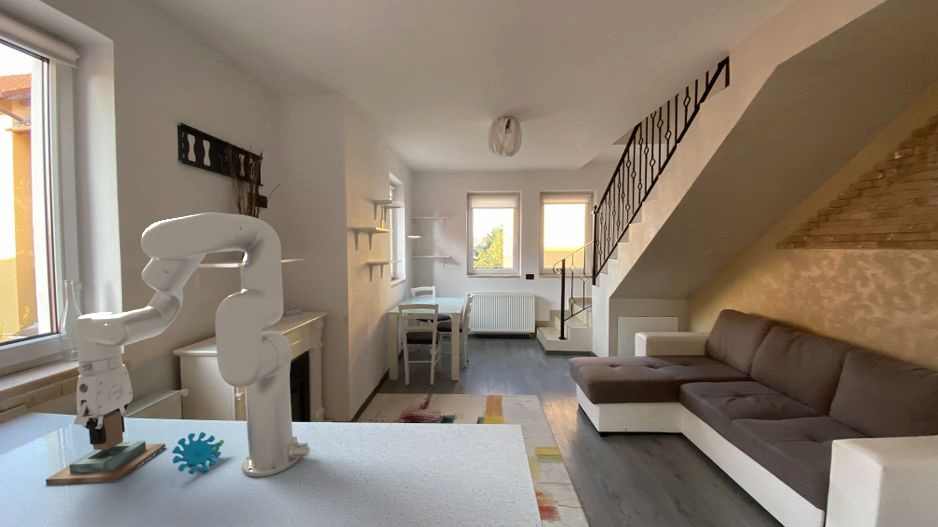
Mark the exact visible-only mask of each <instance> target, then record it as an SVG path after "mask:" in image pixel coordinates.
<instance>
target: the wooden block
mask: <svg viewBox="0 0 938 527" xmlns="http://www.w3.org/2000/svg"><path fill="white" fill-rule="evenodd" d="M93 421H95V422H96V418H93ZM102 427H105V433H106V443H104V444H97V445H92V446H93V448H92V449H93V451H94V450H108V449H110V448H112V447H114V446H116V445H118V444H120V443H122V442H124V435H123V433H124V432H123V433H122V422H121V412H120V411H112V412H110V413H108V414H106V415H104V416H103V423H102Z"/></svg>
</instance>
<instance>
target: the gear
mask: <svg viewBox="0 0 938 527" xmlns="http://www.w3.org/2000/svg"><path fill="white" fill-rule="evenodd" d="M206 436H207V434H206V433H205V432H203V431H200V433H199V434H198V438H197V439H196V440H193V439H194V438H195V437H196V433H193V432H191V433H188V435H187V439H188V444H187V443H186V441H187V440H186V438H185V437H183V438H180V439H179V440H178V441H177V444H178V445H180V446H181V447H182V450H181V448H180V446H178V445H176V446H175V447H174V448H173V450H172V451H171V453H172V454H175V456H174V457H173V459H172V463H173V464H177V463H180V462H186V463H181V464H179V466H178V468H177V470H179V471H180V472H183V471H184V470H185V469H186V468H187V467H189V465H190V466H191V465H192V466H193V467H191V468H190V469H188V471H187V473H188V474H190V475H195V473H196V472H197V467H198V466H199V465H201V466H202V467H200V469H199V472H200V473H201V474H202V473H206V472H207V471H208V466H207V461H208V462H209V464H208V465H209V467H210V468H211V467H214V466H215V465H216V464H217V463H218V462H217V460H216V459H219V458H220V456H221V454H222V451H219V450H220V447H222V446H223V444H224V443H225V440H223V439H220V440H219V441H218V442H215V443H213V442H214V441H215V440H216V438H215V436H214V435H209V437H208V438H207V439H205V440H203V439H204V438H205V437H206ZM176 454H178V455H176ZM179 455H180V456H179ZM181 456H182V457H181ZM212 456H213V457H214V458H215V459H214V458H213V457H212Z"/></svg>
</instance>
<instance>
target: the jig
mask: <svg viewBox="0 0 938 527" xmlns="http://www.w3.org/2000/svg"><path fill="white" fill-rule="evenodd" d="M164 447H165V448H166V443H148V444H147V443H146V440H141V441H140V440H139V441H123V442H122V443H120V444H118V445H116V446H114V447H112V448H110V449H108V450H94V449H93V450H92V451H90V452H87V454H85V455H83V456H82V457H79V458H78V459H76V460H75V461H73V462H71V463H70V464H69V465H68V466H67V467H64V468H63V469H61V470H60V471H58V472H56V473H55V474H52V475H51V476H49V477H47V478H46V479H45V485H64V484H65V485H66V484H67V485H69V484H85V483H87V482H88V483H89V482H90V483H107V482H110V481H111V482H120V481H121V480H122V479H121V478H123V477H124V476H125V477H126V475H127V474H128V475H130V474H131V473H132V472H134V471H135V470H136V468H137V467H138V466H139V465H141V464H142V463H143V462H145V461H146V460H147V459H149V458H150V457H152V456H153V455H154V454H156V453H157V452H159V451H160V450H162V449H163V448H164ZM163 450H164V449H163ZM163 450H162V451H163ZM160 452H161V451H160ZM160 452H159V453H160ZM156 455H157V454H156ZM153 457H154V456H153ZM153 457H152V458H153ZM149 460H150V459H149ZM146 462H147V461H146ZM146 462H145V463H146ZM142 465H143V464H142ZM142 465H141V466H142ZM139 467H140V466H139ZM139 467H138V468H139ZM138 468H137V469H138ZM134 469H135V470H134ZM133 470H134V471H133ZM131 471H132V472H131ZM130 472H131V473H130ZM129 473H130V474H129ZM128 475H127V476H128ZM125 477H124V478H125ZM124 478H123V479H124ZM120 479H121V480H120ZM119 480H120V481H119ZM88 483H87V484H88Z"/></svg>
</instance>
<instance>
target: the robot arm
mask: <svg viewBox="0 0 938 527" xmlns="http://www.w3.org/2000/svg"><path fill="white" fill-rule="evenodd" d="M140 246H141V249H142V251H143V253H144V254H145V255H146V256H147V257H149V258H150V260H149V261H148V263H147V264H146V265H145V267H144V268H143V270H142V271H141V274H140V275H141V276H140V277H141V278H142V281H143V282H144V283H145V284H146V285H147V286H148V287H150V288H152V289H154V290H155V291H156V292H155V294H154V295H153V297H152V299H150V301H149V303H148V304H147V305H146V306H145V307H144V308H139V309H134V310H130V311H124V312H120V313H117V314H116V313H115V312H108V311H107V312H105V311H104V312H103V311H102V312H96V313H95V312H94V313H89V314H88V313H86V314H84V315H80V316H79V317H77V318H76V319H75V321H74V322H75V323H74V326H75V336H76V337H75V338H76V347H77V358H78V367H77V370H76V371H77V372H78V373H79V375H78V377H77V384H76V385H77V386H76V410H77V414H76V417H75V419H74V422H73V424H74V425H76V426H80V427H83V428H85V430H88V434H89V444H90V445H92V446H93V445H97V444H104V443H106V433H105V427H102V423H103V416H104V415H106V414H108V413H110V412H112V411H120V412H121V422H122V433H125V431H126V429H125V418H124V416H125V415H126V414H127V413H126V412H127V411H126V410H127V408H128V407H129V404H130V403H131V401H132V400H133V389H132V384H131V379H130V375H129V371H128V369H127V366H126V364H123V354H122V353H123V352H122V347H124V346H128V345H131V344H134V343H138V342H139V341H140V342H141V341H143V340H146V339H149V338H154V337H157V336H159V335H161V334H163V332H164V331H166V330H167V328H169V327H170V325H171V324H172V323H173V321H174V320H175V319H176V318H177V316H178V314H179V313H180V311H181V310H182V308H183V303H184V291H183V289H184V286H185V285H186V284H187V282H188V281H189V280H190V278H191V277H192V275H193V274H194V272H195V271H196V269H197V268H198V267H199V265H200V264H201V262H202V261H203V260H204V258H205V257H206V255H207V254H212V253H220V252H221V253H223V252H224V253H225V252H236V251H237V252H239V251H240V252H243V253H244V257H243V259H242V262H241V265H240V291H237V292H234V293H232V294H230V295H228V296H227V297H225V298H224V299H223V300H221V302H220V303H219V305H218V307H217V309H216V313H215V320H214V323H215V324H214V325H215V330H214V331H215V342H216V343H215V344H216V361H217V362H216V363H217V367H218V372H219V374H220V376H221V378H222V379H223V381H224V382H225V383H227V384H228V385H229V386H231V387H235V388H245V390H244V391H245V392H244V398H245V416H246V430H247V432H246V433H247V443H248V445H247V446H248V456H247V457H245V458H244V460H243V461H242V464H241V469H242V473H244V474H245V475H246V476H249V477H257V478H259V477H268V476H272V475H275V474H278V473H281V472H283V471H285V470H287V469H289V468H291V467H292V466H293V465H295V463H297V462H298V461H299V459H300V457H304V456H305V457H308V456H309V455H310V451H311V450H310V449H311V448H310V446H309V442H298V436H293V435H294V434H293V421H292V403H291V385H290V384H291V381H290V380H291V379H290V378H291V377H290V373H291V362H292V347H291V346H292V345H291V343H290V341H289V340H288V337H287V336H285V335H284V334H283V333H281V332H279V331H274V330H268V331H267V330H266V331H263V330H264V329H266V328H269V327H271V326H273V325H275V324H276V323H278V322H279V321H280V320H281V318H282V316H283V315H284V291H283V290H284V288H283V274H282V245H281V241H280V238H279V235H278V233H277V232H276V230H275V229H274V228H273V227H272V226H271V225H270V224H269V223H268V222H266V221H264V220H262V219H260V218H257V217H254V216H251V215H245V214H238V213H225V212H203V213H197V214H192V215H187V216H181V217H177V218H171V219H166V220H161V221H158V222H155V223H153V224H150V225H149V227H146V229H145V230H144V232H143V233H142V236H141V238H140ZM93 418H96V422H95V421H93Z"/></svg>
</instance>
